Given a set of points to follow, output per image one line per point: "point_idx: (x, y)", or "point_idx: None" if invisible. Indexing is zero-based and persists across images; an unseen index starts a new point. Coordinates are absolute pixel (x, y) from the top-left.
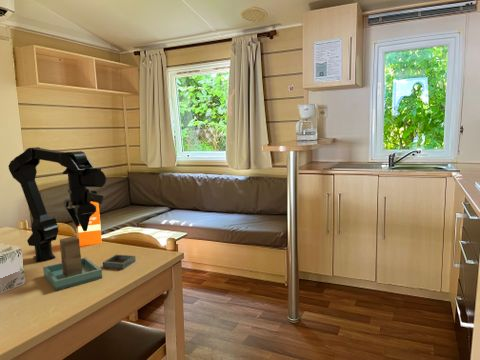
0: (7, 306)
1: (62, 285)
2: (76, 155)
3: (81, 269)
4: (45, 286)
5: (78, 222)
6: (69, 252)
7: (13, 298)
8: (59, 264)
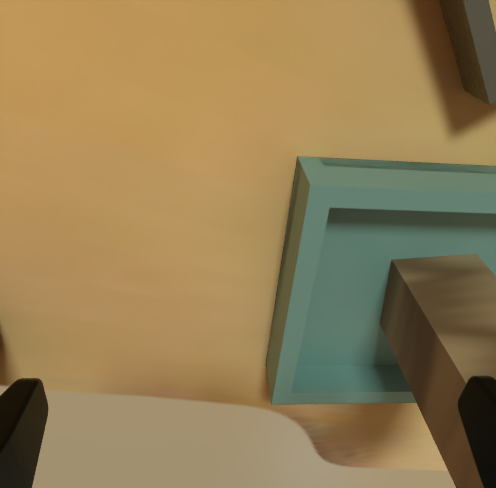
0: None
1: None
2: None
3: (490, 273)
4: None
5: (17, 447)
6: None
7: (406, 453)
8: (299, 343)
